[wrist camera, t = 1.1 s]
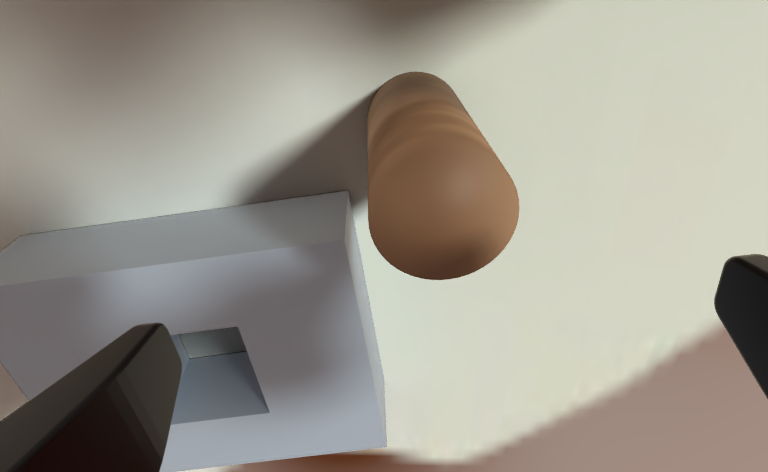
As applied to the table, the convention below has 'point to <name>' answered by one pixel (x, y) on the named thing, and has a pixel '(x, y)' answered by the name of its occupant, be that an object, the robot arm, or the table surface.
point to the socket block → (214, 322)
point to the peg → (434, 182)
